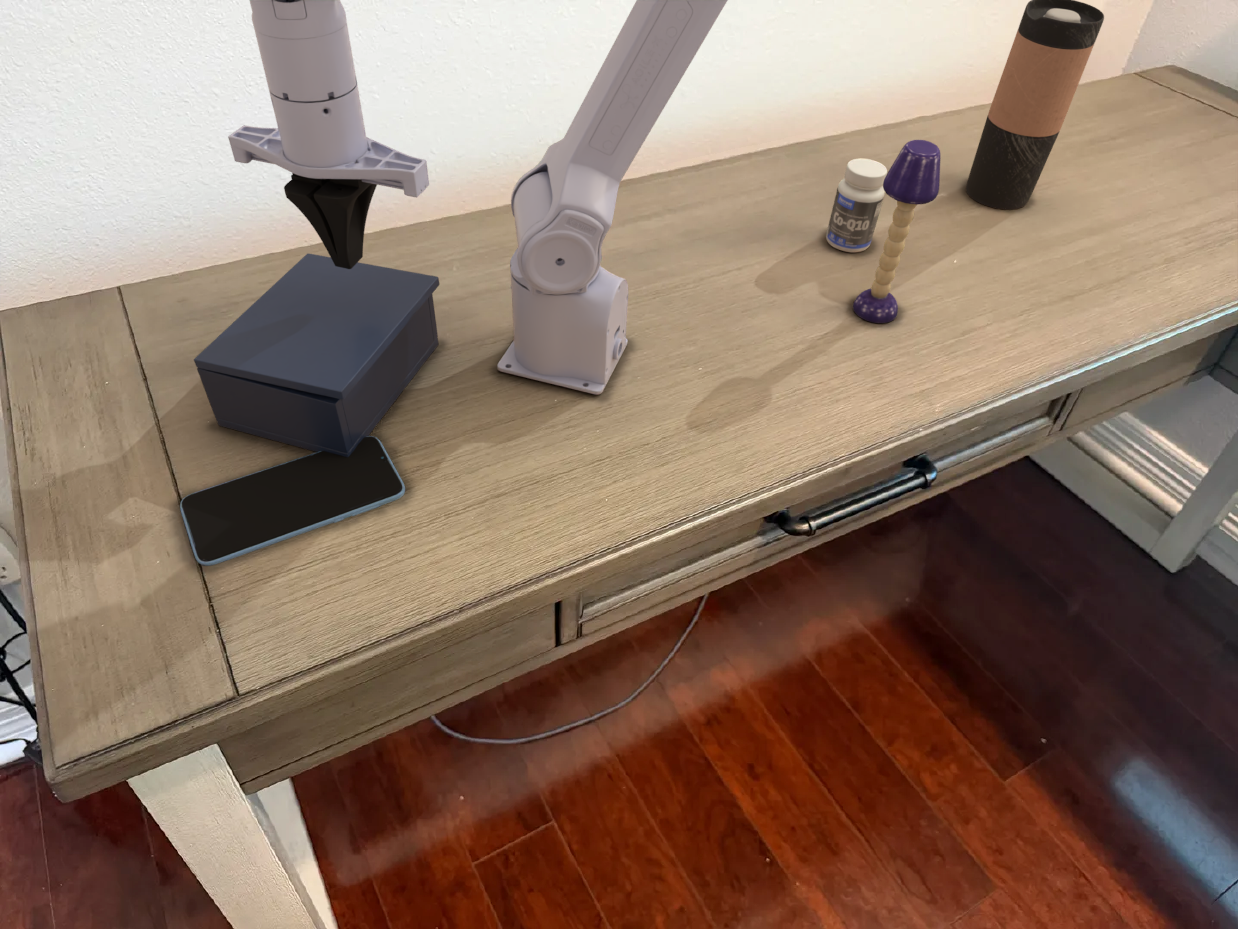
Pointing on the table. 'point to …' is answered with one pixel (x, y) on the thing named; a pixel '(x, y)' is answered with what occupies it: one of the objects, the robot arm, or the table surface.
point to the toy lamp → (900, 222)
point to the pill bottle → (857, 205)
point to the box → (320, 416)
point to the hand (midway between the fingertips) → (348, 261)
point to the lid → (319, 326)
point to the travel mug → (1032, 100)
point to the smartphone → (288, 501)
